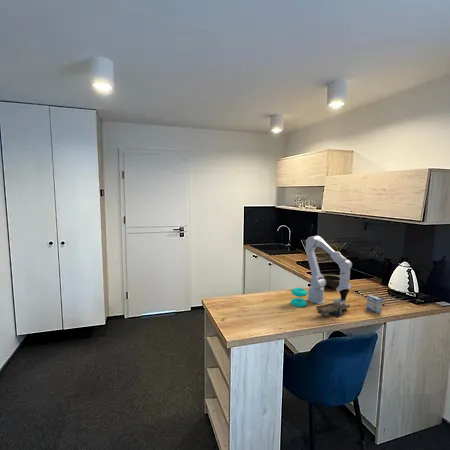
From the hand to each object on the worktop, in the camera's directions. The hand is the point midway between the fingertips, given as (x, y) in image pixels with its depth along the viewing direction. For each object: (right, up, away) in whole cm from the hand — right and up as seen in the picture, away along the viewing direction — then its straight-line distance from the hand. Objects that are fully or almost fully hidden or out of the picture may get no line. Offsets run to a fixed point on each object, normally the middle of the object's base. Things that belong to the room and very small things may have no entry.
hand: (343, 300), depth 191 cm
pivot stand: (-5, -6, -4) cm, 9 cm away
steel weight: (-4, -3, -2) cm, 5 cm away
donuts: (-26, -5, +6) cm, 28 cm away
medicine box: (+19, -6, 0) cm, 20 cm away
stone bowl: (+8, -1, +48) cm, 49 cm away
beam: (-9, -5, -6) cm, 12 cm away
